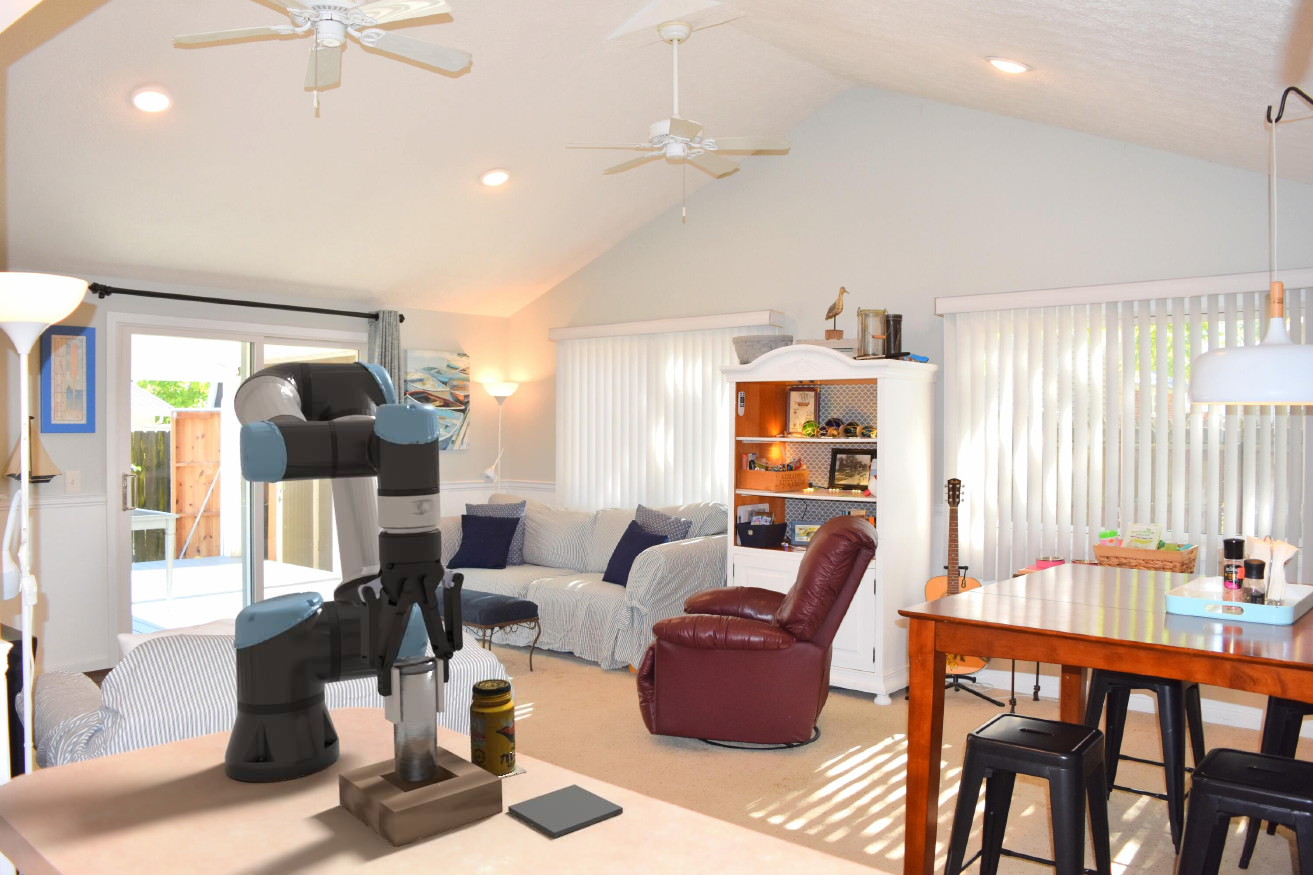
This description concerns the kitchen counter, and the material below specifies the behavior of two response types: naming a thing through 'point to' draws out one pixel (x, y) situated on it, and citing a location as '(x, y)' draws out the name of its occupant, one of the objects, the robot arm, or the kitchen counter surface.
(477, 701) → the condiment
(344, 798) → the housing
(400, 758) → the plug
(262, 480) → the robot arm
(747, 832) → the kitchen counter surface
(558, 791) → the mat
